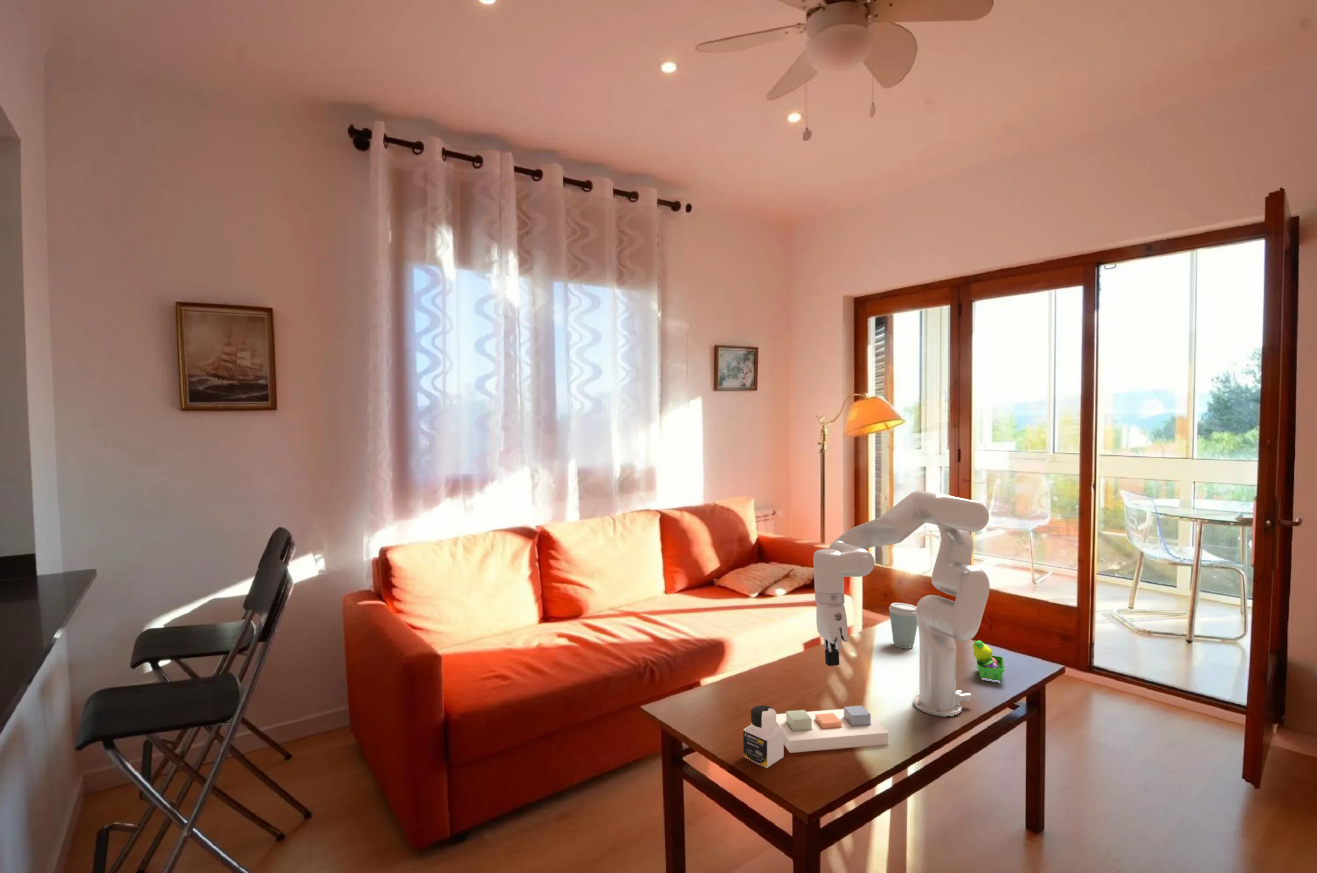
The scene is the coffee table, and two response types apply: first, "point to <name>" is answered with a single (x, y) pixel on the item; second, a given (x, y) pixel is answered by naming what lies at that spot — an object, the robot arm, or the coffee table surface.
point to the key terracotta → (827, 721)
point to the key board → (831, 734)
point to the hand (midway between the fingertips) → (832, 664)
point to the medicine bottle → (763, 737)
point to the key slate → (857, 716)
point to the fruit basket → (988, 662)
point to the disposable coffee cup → (903, 624)
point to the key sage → (798, 720)
